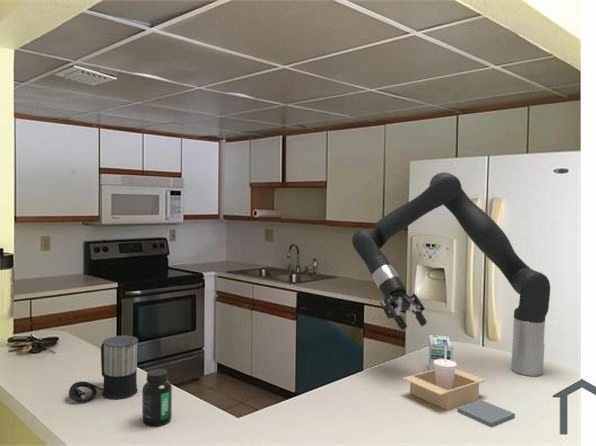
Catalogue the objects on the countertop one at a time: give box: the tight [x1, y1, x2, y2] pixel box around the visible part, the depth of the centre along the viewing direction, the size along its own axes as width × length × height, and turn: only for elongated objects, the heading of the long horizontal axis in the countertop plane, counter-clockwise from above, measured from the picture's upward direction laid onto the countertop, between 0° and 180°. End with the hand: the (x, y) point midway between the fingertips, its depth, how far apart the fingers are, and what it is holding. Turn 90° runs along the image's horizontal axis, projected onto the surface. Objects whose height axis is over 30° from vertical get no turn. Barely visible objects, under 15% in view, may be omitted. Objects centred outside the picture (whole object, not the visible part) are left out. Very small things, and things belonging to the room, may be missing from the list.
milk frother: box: [68, 335, 139, 403], centre depth 133 cm, size 14×16×15 cm
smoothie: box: [433, 347, 458, 390], centre depth 138 cm, size 6×6×14 cm
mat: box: [456, 399, 516, 428], centre depth 127 cm, size 10×10×1 cm
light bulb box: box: [428, 334, 454, 371], centre depth 156 cm, size 11×7×11 cm, turn 168°
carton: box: [402, 368, 487, 411], centre depth 138 cm, size 20×13×5 cm
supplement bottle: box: [141, 368, 173, 428], centre depth 119 cm, size 7×7×12 cm
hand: (414, 326), depth 147 cm, fingers open, 8 cm apart
